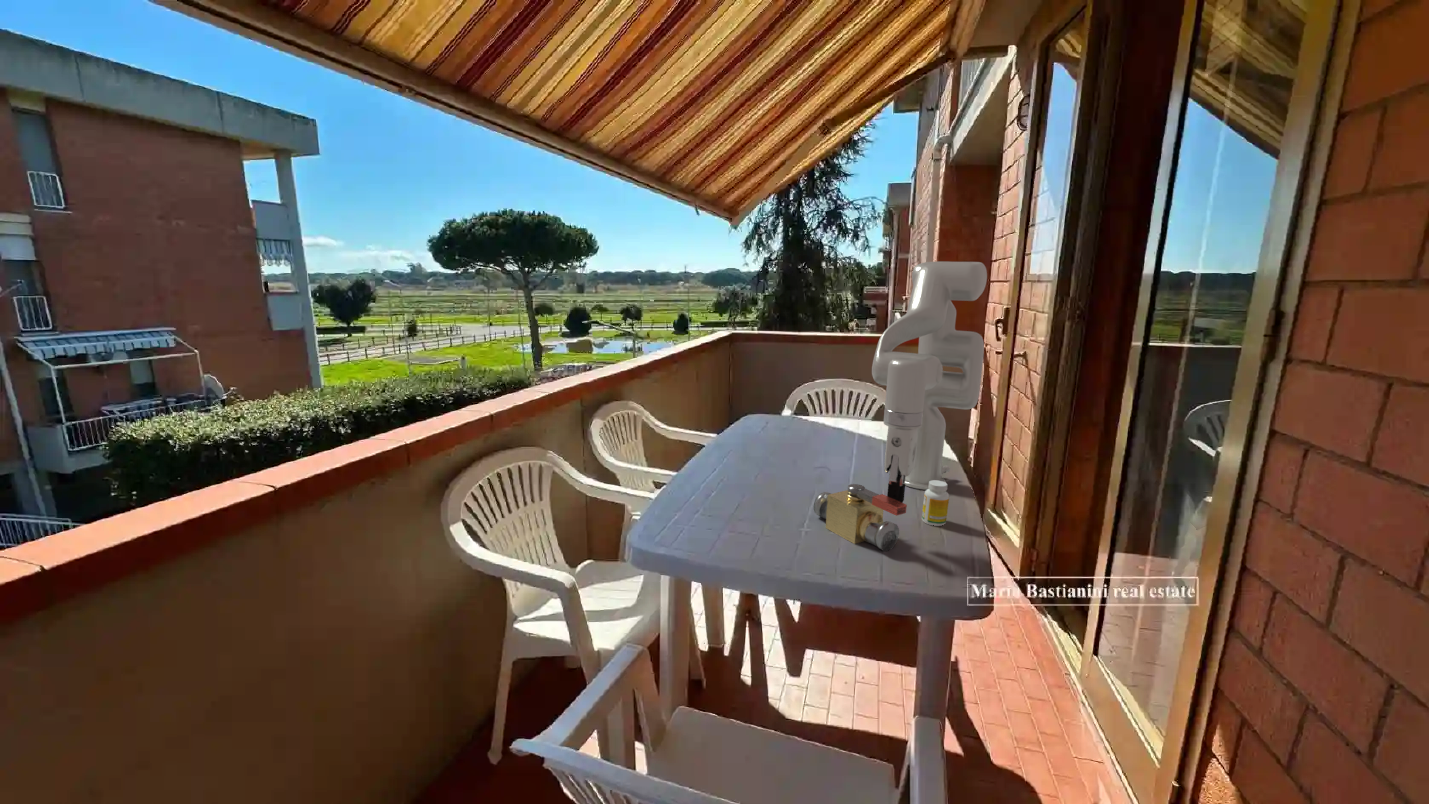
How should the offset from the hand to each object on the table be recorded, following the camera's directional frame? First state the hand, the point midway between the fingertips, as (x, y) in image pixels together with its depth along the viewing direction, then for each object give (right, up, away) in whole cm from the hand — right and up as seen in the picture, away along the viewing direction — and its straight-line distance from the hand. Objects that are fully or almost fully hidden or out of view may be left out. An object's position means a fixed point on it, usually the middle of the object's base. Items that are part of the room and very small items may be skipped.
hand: (895, 501), depth 120 cm
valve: (-8, -8, +5) cm, 12 cm away
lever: (-5, 0, -1) cm, 5 cm away
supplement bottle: (+13, -7, +12) cm, 19 cm away
